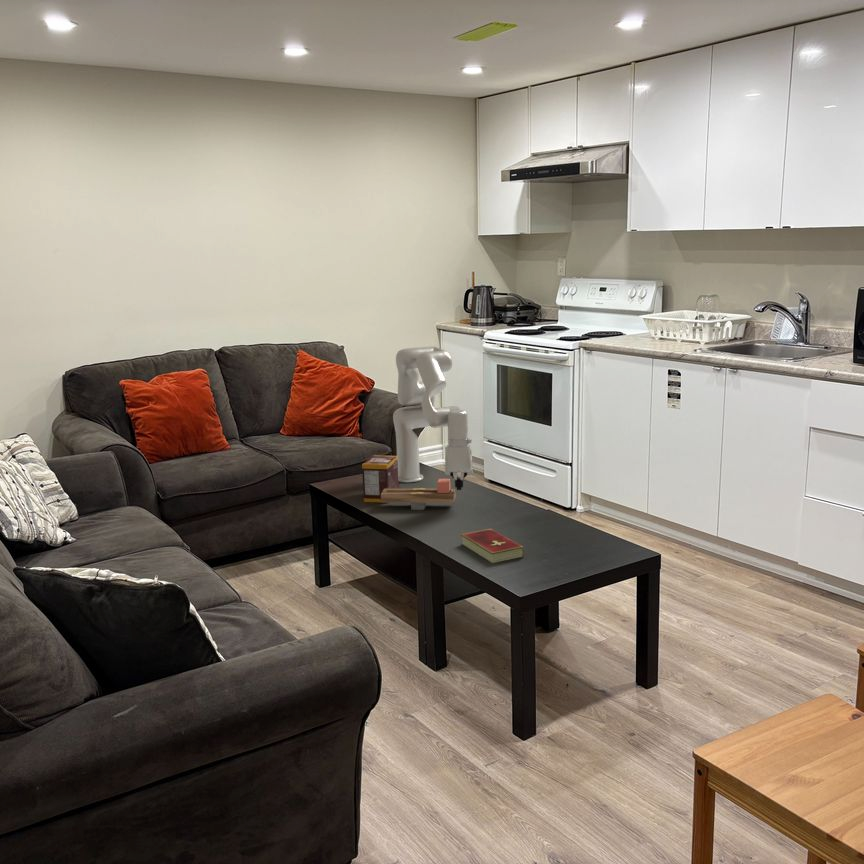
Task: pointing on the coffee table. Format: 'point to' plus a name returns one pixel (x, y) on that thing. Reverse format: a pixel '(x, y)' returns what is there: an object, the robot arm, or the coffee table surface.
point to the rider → (443, 486)
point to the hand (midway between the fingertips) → (459, 489)
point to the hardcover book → (492, 545)
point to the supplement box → (379, 476)
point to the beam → (417, 496)
